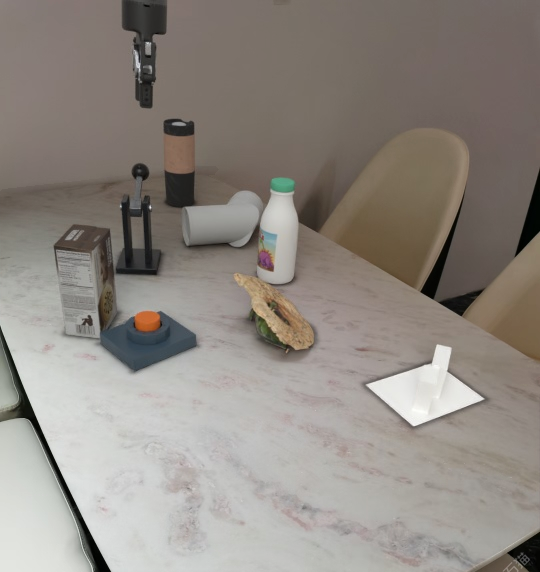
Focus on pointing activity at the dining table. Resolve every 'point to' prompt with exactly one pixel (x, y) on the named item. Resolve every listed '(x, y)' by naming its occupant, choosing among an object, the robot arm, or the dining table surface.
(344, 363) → the dining table surface
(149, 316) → the button
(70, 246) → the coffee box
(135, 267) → the bracket
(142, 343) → the button box
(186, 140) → the travel mug
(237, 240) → the elbow connector
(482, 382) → the dining table surface
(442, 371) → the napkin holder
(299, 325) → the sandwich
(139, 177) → the lever
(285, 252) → the milk bottle
